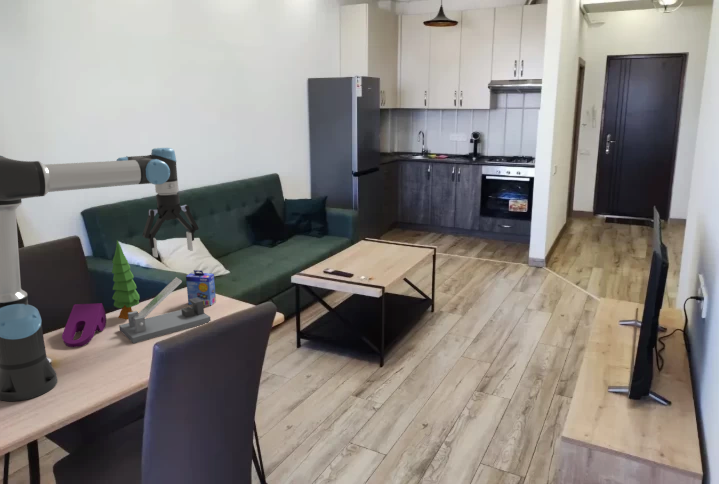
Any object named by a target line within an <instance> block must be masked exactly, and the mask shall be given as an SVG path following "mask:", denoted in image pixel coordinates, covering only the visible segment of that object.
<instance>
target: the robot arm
mask: <svg viewBox="0 0 719 484" xmlns="http://www.w3.org/2000/svg"><path fill="white" fill-rule="evenodd" d="M176 156H177V155H176V153H175V149H173V148H172V147H155V148H152V149H151V154H147V155H136V156H135V155H133V156H127V155H126V156H123V157H118V158H117V159H116V160H110V161H109V160H107V161H90V162H69V163H66V162H65V163H53V164H52V163H50V164H49V163H48V164H45V163H44V164H43V163H42V162H41V160H40V161H39V160H33V161H31V160H30V161H27V160H26V161H24V160H18V159H12V158H8V157H5V156H3V155H0V401H3V402H4V401H5V402H19V401H20V402H21V401H24V400H30V399H33V398H36V397H39V396H41V395H44V394H46V393H47V392H49V391H51V390H52V389H54V388H55V387H56V385H57V384H58V375H57V372H56V370H55V368H54V367H53V366H52V363H51V362H50V360H49V359H48V357H47V350H46V345H45V338H44V332H43V326H42V325H43V324H42V322H43V321H42V317H41V314H40V311H39V310H38V308H37V307H35V306H33V305H31V304H29V301H28V300H29V299H28V292H27V291H25V290H23V289H22V285H21V283H22V282H21V270H20V255H19V242H18V241H19V239H18V238H19V237H18V236H19V235H18V225H17V223H18V221H17V208H18V207H20V205H22V203H23V202H22V201H23V199H29V198H39V197H45V196H46V195H48V193H52V192H64V191H77V190H89V189H98V188H110V187H122V186H123V187H124V186H133V185H134V186H135V185H147V184H148V185H149V184H150V185H154V188H155V189H154V190H155V193H156V195H155V199H156V206H157V207H156V209H150V208H149V209H148V210H147V215H148V216H147V219H146V223H145V226H144V229H143V231H142V238H144V239H148V245H149V248H150V249H151V250H152V251H151V252H152V257H154V258H159V255H158V245H157V244H158V243H157V239H156V238H155V236H156V235H157V233H158V231H159V230H160V228H161V227H162V225H163V223H165V221H170V220H173V221H174V220H178V221H179V222H180V224H182V226H183V227H184V228H185V229H186V230H187V231H186V233H185V235H186V244H187V250H188V251H189V252H191V251H192V252H193V251H194V248H193V242H194V241H195V234H194V233H195V232H196V231H198V230H199V228H200V227H199V226H198V224H197V222H196V221H195V218H194V217H193V215H192V213H191V211H190V205H187V204H183V205H181V202H180V193H178V192H179V181H178V170H177V157H176ZM180 212H183V213H184V214H185V216H186V218H187V220H188V222H187V220H185V219H184V217H183V216H182V215H181V214H180ZM157 214H158V216H157V219H156V220H155V216H156V215H157ZM154 220H155V221H156V222H155V223H154Z"/></svg>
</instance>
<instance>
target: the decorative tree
mask: <svg viewBox="0 0 719 484" xmlns="http://www.w3.org/2000/svg"><path fill="white" fill-rule="evenodd" d="M115 246H116V248H115V251H114V256H113V259H112V261H111V263H112V269H111V274H113V278H112V282H114V283H113V285H112V289H111V290H112V291H114V293H113V294H112V298H111V299H112V300H114V302H113V307H115V308H117V309H121V310H120V312H119V315H118V319H121V320H124V321H125V320H129V319H128V313H129V312H133V308H132V307H134V306H138V305H139V304H140V301H139V300H140V294H139V293H138V291H137V290H136V289H138V287H137V284H136V283H135V281H134V278H135V277H134V276H135V275H134V274H133V272H132V271H131V265H130V264H129V262H128V259H127V257H126V256H125V254H124V251H123V249H122V246H121V244H120V242H119V240H118V239H116V245H115Z"/></svg>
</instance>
